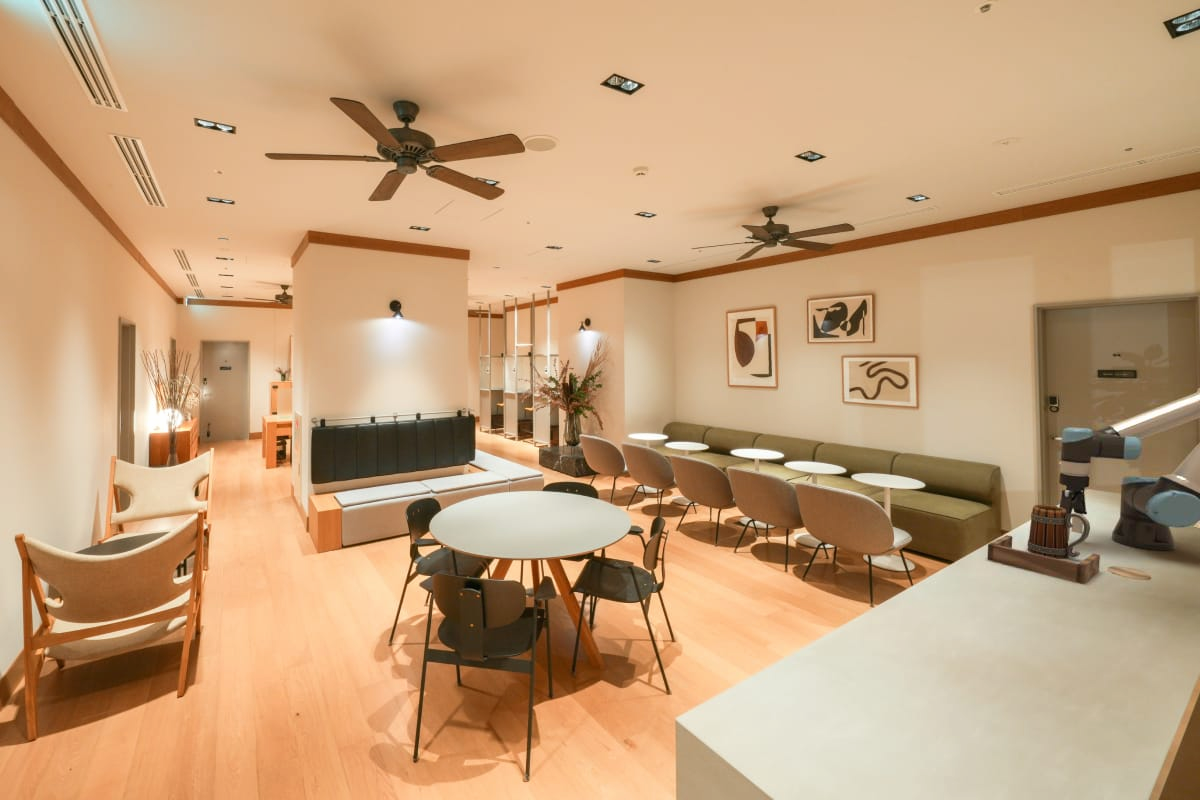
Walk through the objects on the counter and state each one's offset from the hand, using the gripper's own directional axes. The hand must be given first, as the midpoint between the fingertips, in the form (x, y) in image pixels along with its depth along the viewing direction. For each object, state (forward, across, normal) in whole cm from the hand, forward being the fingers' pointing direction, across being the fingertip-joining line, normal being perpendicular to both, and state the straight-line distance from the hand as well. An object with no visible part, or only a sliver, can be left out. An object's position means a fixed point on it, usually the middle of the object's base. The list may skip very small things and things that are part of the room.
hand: (1070, 536), depth 180 cm
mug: (+4, +15, +1) cm, 15 cm away
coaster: (+4, +16, +18) cm, 24 cm away
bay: (+4, +29, +1) cm, 29 cm away
